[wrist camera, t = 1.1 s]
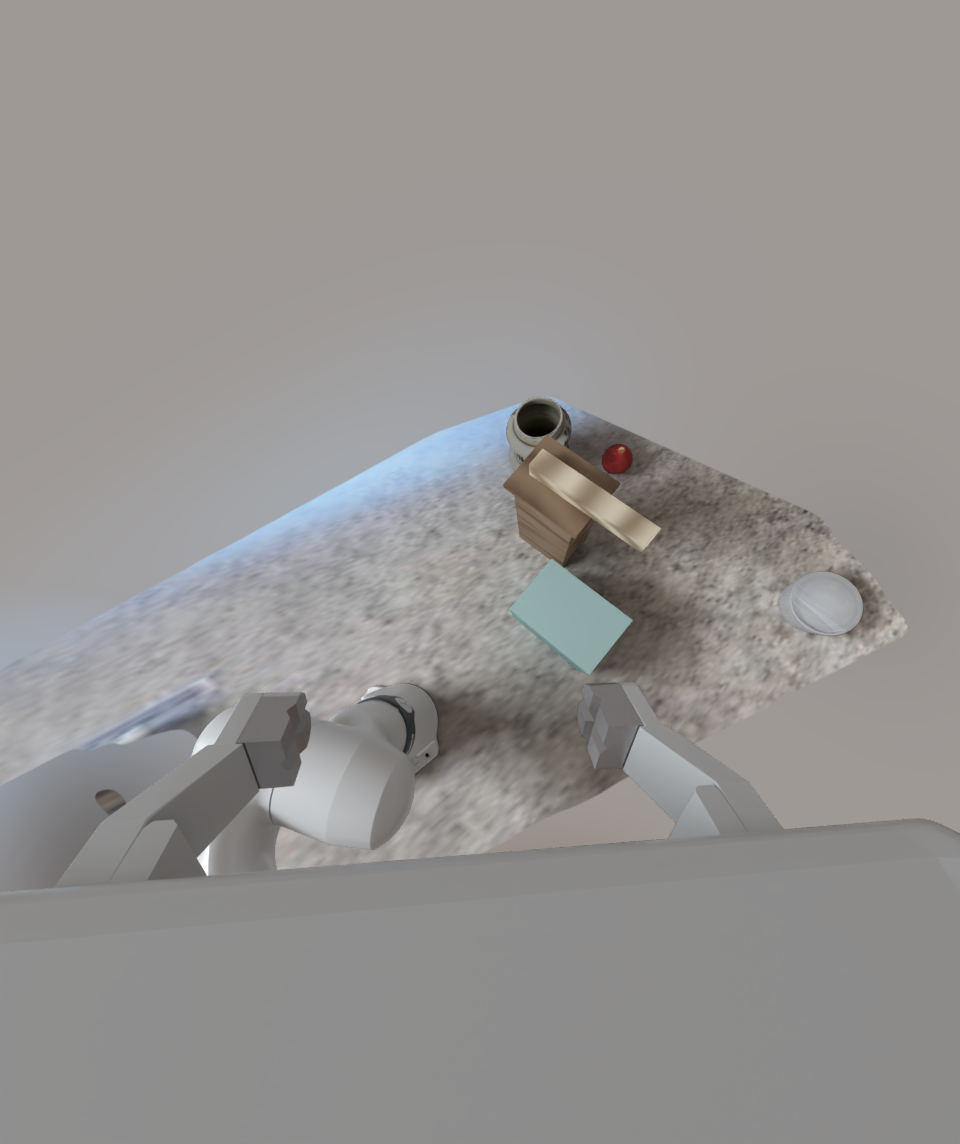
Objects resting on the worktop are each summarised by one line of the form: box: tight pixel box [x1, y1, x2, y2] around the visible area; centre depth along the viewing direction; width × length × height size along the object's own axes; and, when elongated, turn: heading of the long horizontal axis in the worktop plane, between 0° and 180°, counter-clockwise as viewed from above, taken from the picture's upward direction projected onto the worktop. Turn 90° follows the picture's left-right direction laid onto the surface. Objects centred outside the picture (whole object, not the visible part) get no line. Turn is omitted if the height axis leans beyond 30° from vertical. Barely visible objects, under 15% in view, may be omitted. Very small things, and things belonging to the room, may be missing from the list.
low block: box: [510, 559, 633, 675], centre depth 69 cm, size 11×16×15 cm
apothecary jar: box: [506, 397, 571, 470], centre depth 75 cm, size 12×12×18 cm
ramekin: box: [779, 572, 863, 636], centre depth 68 cm, size 11×11×5 cm
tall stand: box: [503, 434, 620, 567], centre depth 67 cm, size 10×13×26 cm
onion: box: [602, 444, 632, 474], centre depth 77 cm, size 6×6×8 cm
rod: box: [529, 449, 661, 553], centre depth 52 cm, size 19×3×3 cm, turn 50°
